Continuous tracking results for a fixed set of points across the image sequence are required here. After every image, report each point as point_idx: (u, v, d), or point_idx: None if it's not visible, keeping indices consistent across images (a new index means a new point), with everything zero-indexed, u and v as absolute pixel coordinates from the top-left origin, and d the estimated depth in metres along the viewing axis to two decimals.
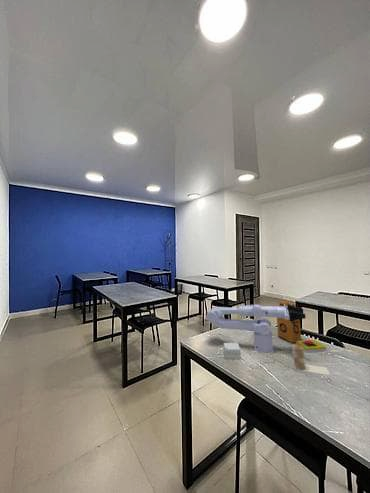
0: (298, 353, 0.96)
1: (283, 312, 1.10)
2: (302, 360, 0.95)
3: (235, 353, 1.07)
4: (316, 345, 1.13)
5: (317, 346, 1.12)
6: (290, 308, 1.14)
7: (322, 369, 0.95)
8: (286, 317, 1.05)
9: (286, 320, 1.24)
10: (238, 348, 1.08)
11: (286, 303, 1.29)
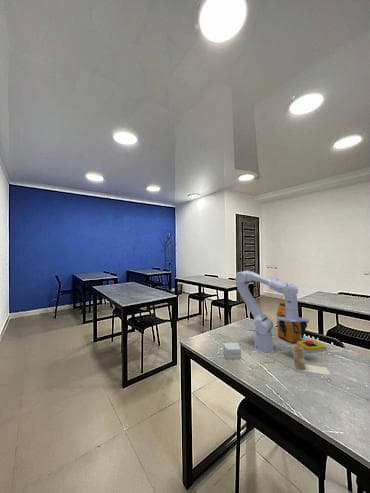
0: (298, 353, 0.96)
1: (286, 317, 1.07)
2: (302, 360, 0.95)
3: (235, 353, 1.07)
4: (317, 345, 1.13)
5: (318, 346, 1.12)
6: (301, 325, 1.04)
7: (322, 369, 0.95)
8: None
9: None
10: (238, 348, 1.08)
11: None
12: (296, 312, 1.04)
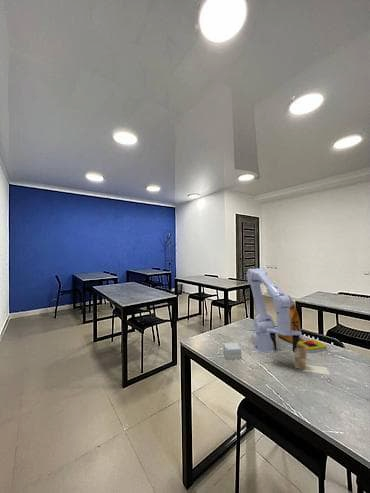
0: (301, 353, 0.95)
1: (277, 329, 1.00)
2: (304, 360, 0.95)
3: (236, 353, 1.07)
4: (317, 345, 1.13)
5: (318, 346, 1.12)
6: None
7: (322, 369, 0.95)
8: (267, 330, 1.03)
9: None
10: (239, 348, 1.08)
11: None
12: (288, 325, 0.97)
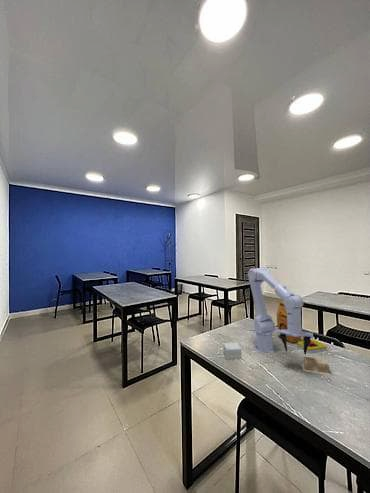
0: (323, 367, 0.92)
1: (288, 330, 0.98)
2: (315, 369, 0.93)
3: (236, 353, 1.07)
4: (317, 345, 1.13)
5: (318, 346, 1.12)
6: (304, 340, 0.96)
7: None
8: None
9: (286, 320, 1.24)
10: (239, 348, 1.08)
11: None
12: (299, 326, 0.96)
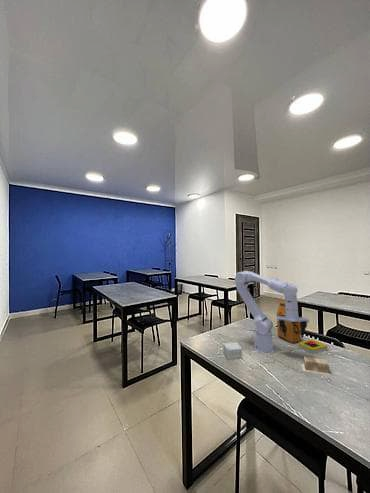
0: (323, 367, 0.92)
1: (286, 316, 1.08)
2: (315, 369, 0.93)
3: (237, 353, 1.07)
4: (318, 345, 1.13)
5: (320, 346, 1.12)
6: (301, 325, 1.05)
7: None
8: None
9: None
10: (239, 347, 1.08)
11: None
12: (296, 312, 1.05)
